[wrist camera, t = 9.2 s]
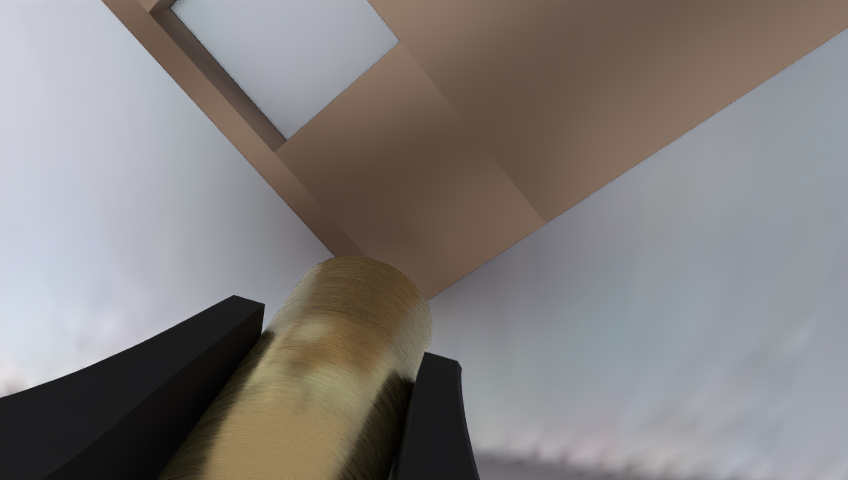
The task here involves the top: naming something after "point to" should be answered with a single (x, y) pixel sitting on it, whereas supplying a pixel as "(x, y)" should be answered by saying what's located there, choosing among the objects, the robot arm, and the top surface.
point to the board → (491, 113)
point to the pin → (318, 383)
